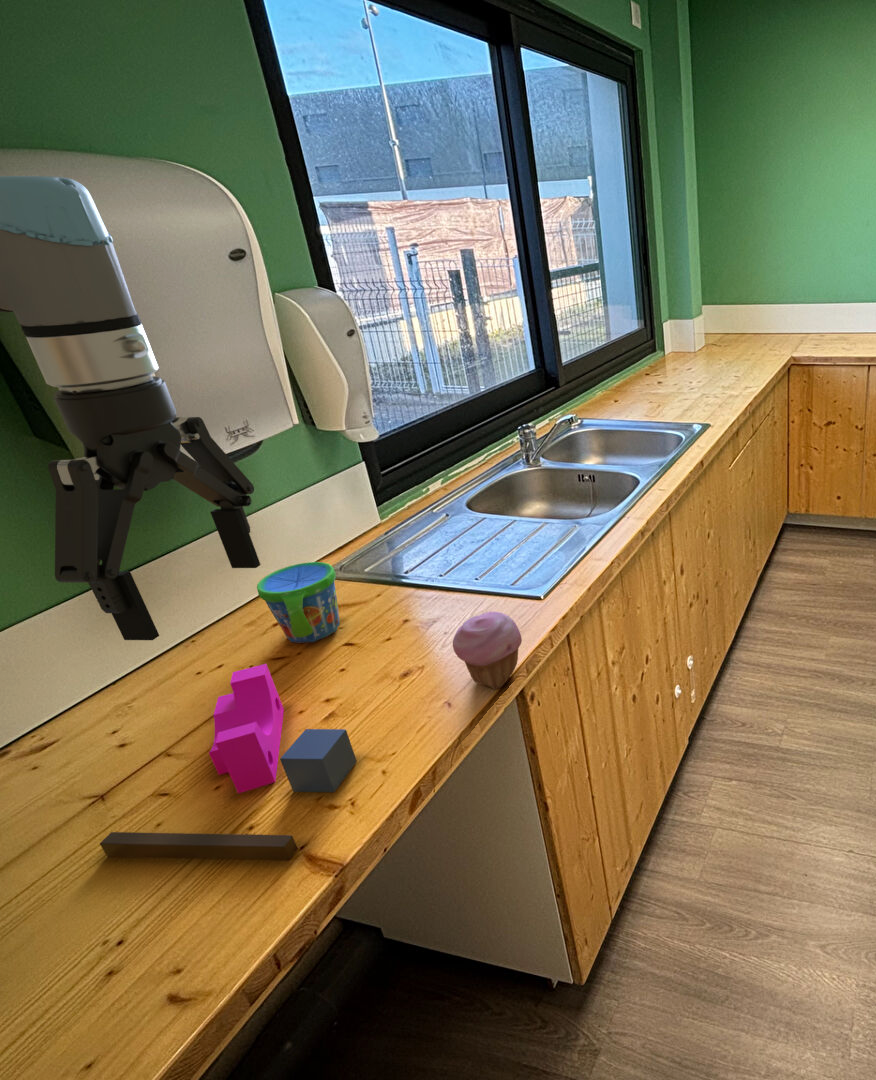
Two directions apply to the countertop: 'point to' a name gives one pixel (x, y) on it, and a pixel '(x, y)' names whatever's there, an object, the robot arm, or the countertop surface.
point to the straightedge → (199, 846)
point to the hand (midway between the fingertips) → (199, 599)
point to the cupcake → (488, 647)
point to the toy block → (248, 729)
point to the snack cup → (302, 600)
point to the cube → (318, 760)
